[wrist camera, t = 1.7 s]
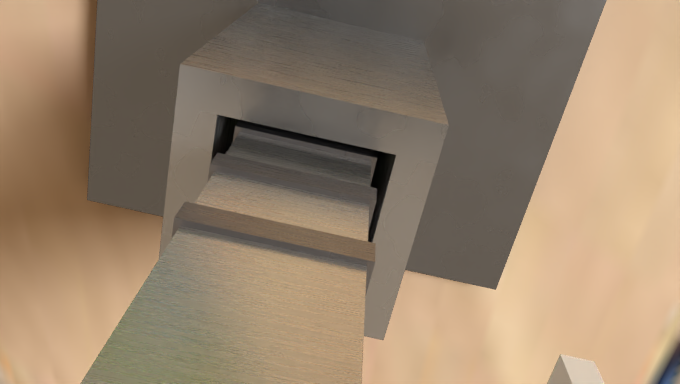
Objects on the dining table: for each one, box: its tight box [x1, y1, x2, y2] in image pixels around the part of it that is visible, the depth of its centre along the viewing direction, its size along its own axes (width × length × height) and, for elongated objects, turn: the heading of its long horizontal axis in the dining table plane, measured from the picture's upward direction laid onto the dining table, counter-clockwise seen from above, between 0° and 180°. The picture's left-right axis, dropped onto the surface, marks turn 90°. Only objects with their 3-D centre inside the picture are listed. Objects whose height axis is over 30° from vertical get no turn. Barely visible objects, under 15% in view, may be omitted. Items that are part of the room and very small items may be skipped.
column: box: [81, 120, 377, 384], centre depth 20 cm, size 4×4×22 cm
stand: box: [87, 0, 606, 340], centre depth 25 cm, size 16×22×13 cm
